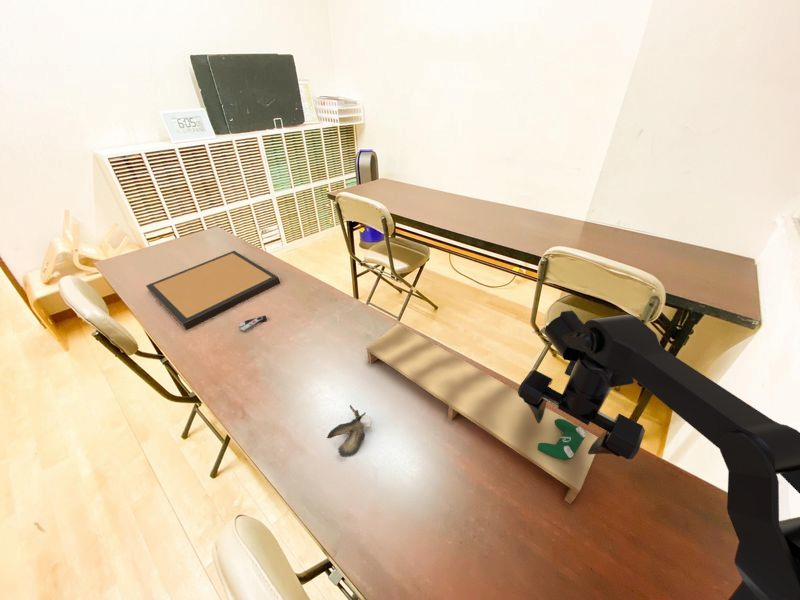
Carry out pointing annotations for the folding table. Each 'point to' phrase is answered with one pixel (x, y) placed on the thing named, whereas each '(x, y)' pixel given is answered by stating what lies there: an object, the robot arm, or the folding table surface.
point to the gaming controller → (564, 441)
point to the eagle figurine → (352, 433)
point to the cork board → (211, 288)
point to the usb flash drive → (251, 323)
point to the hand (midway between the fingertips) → (563, 436)
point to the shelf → (483, 402)
